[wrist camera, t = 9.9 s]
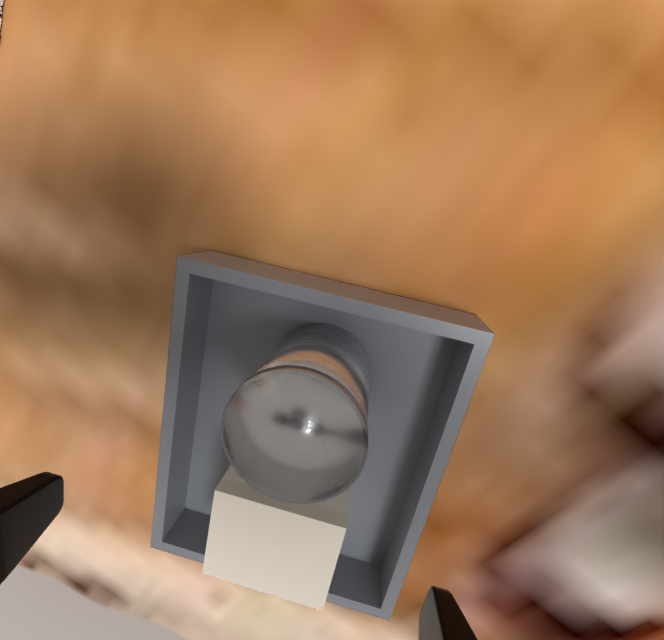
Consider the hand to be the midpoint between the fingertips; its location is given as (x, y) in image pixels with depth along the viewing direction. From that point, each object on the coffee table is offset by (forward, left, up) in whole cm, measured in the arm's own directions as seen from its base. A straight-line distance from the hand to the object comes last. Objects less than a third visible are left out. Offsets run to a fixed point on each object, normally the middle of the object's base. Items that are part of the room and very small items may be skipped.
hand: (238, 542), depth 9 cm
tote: (0, +4, -11) cm, 11 cm away
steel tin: (0, 0, -10) cm, 10 cm away
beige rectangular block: (0, +8, -10) cm, 13 cm away
